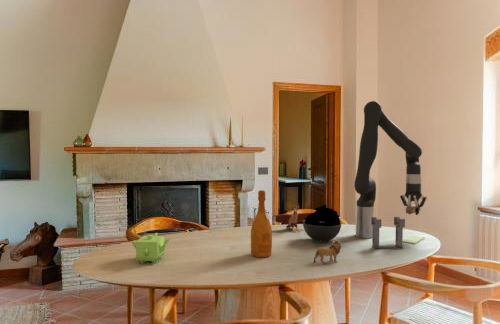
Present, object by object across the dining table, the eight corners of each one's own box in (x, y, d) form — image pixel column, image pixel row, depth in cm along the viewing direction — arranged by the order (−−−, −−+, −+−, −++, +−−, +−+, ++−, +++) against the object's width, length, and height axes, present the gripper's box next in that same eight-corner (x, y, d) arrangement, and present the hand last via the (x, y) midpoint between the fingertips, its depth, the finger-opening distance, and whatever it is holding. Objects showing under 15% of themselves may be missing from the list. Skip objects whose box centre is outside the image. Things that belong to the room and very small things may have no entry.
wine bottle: (257, 259, 165) (257, 192, 164) (246, 253, 174) (247, 189, 172) (275, 256, 169) (276, 191, 168) (265, 251, 178) (265, 188, 177)
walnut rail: (411, 213, 194) (411, 208, 194) (405, 213, 196) (405, 207, 196) (420, 210, 205) (420, 204, 205) (414, 209, 207) (414, 204, 207)
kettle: (157, 253, 173) (157, 229, 172) (174, 260, 163) (174, 235, 162) (126, 260, 162) (126, 234, 162) (143, 268, 152) (143, 241, 152)
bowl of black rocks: (325, 248, 183) (325, 210, 182) (294, 240, 198) (295, 205, 197) (348, 241, 196) (349, 206, 195) (318, 235, 211) (318, 202, 210)
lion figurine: (335, 258, 167) (336, 238, 167) (344, 261, 163) (344, 241, 162) (309, 262, 160) (309, 242, 160) (317, 266, 156) (317, 245, 155)
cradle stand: (375, 250, 181) (376, 219, 180) (370, 246, 187) (370, 217, 187) (404, 249, 182) (405, 219, 182) (398, 246, 189) (399, 216, 188)
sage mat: (415, 244, 192) (415, 243, 192) (399, 241, 197) (399, 240, 197) (424, 238, 205) (424, 237, 205) (409, 235, 210) (409, 234, 210)
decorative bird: (280, 230, 206) (276, 204, 211) (268, 236, 222) (264, 212, 227) (324, 227, 216) (319, 202, 221) (309, 232, 232) (305, 209, 237)
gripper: (429, 182, 198) (429, 214, 199) (402, 181, 207) (402, 212, 208) (425, 183, 193) (425, 216, 193) (397, 182, 202) (397, 214, 202)
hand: (413, 214), depth 200 cm, fingers closed on walnut rail, 3 cm apart
